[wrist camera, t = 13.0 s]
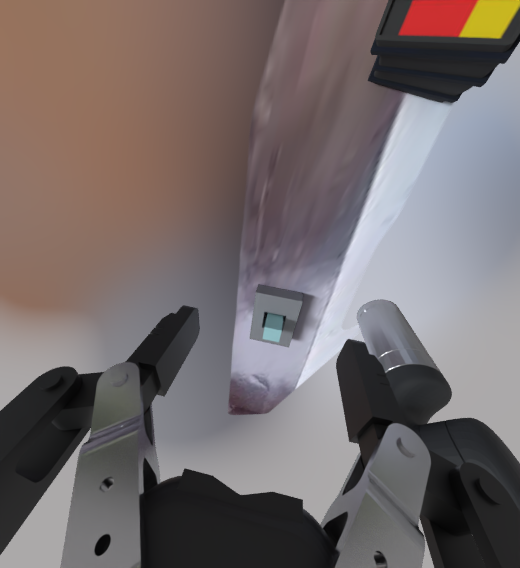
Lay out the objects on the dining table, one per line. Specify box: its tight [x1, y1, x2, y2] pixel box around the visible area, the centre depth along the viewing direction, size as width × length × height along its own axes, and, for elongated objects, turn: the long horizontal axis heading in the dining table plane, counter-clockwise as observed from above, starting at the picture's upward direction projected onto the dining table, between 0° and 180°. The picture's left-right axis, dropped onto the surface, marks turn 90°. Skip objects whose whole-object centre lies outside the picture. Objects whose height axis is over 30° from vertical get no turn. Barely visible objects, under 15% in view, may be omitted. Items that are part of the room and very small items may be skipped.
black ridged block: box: [368, 0, 520, 103], centre depth 22 cm, size 4×13×15 cm, turn 76°
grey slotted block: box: [250, 284, 303, 347], centre depth 52 cm, size 16×11×4 cm
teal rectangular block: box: [263, 312, 283, 342], centre depth 50 cm, size 4×4×8 cm
